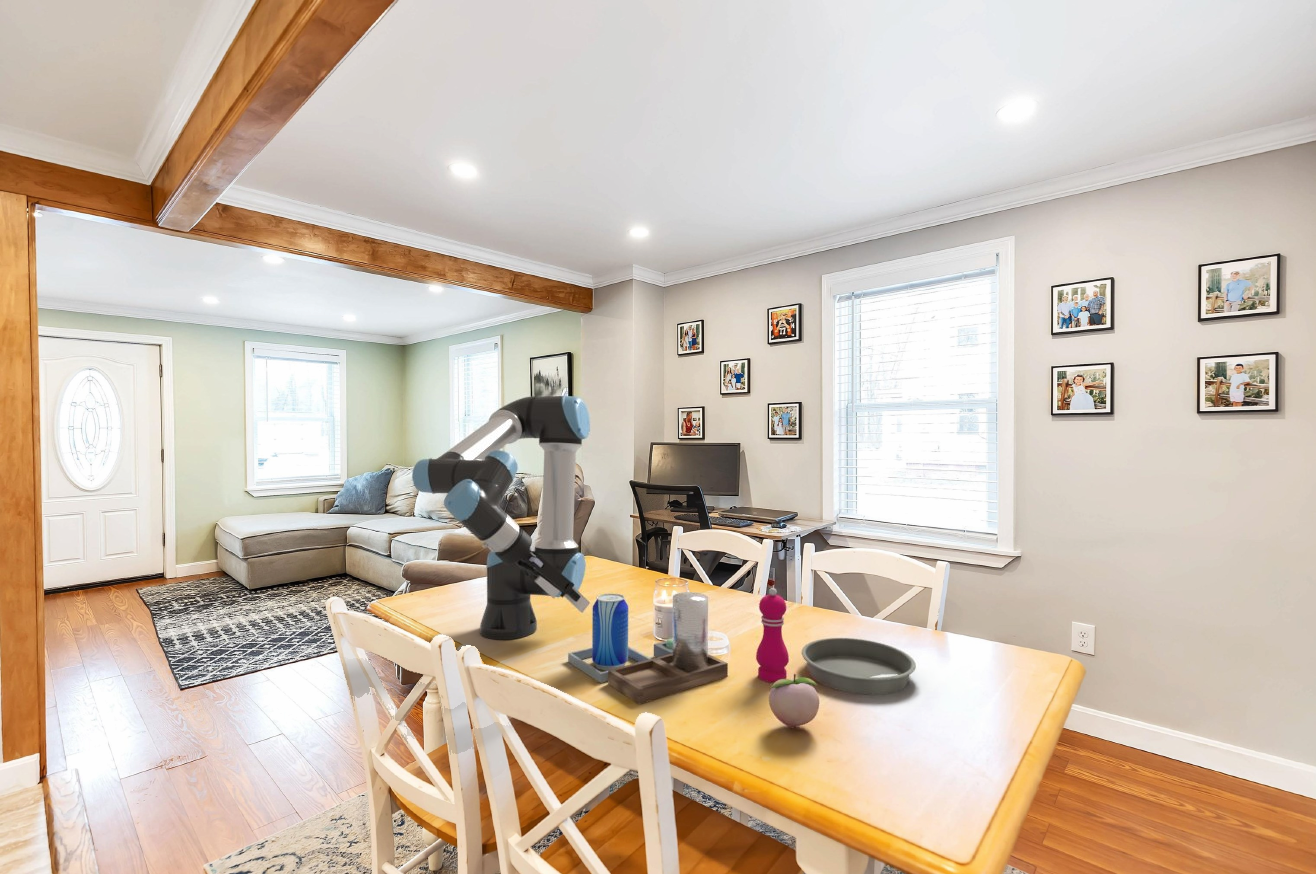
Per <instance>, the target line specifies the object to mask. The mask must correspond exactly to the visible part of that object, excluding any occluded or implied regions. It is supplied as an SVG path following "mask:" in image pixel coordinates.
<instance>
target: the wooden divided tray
mask: <svg viewBox="0 0 1316 874" xmlns="http://www.w3.org/2000/svg"><path fill="white" fill-rule="evenodd" d="M672 656H673V653H672V654H668V655H664V656H660V657H657V658H656V657H654V658H651V659H649V660H645V661H641V662H638V661H637V662H635V663H631V664H625V666H623V667H619V668H615V669H611V670H608V681H607V684H608V685H609V686H610V687H613V689H615V690H616V691H618V692H620V693H621V694H623V695H624V696H626V697H627V698H629V699H631V700H632V701H633V702H635V703H636V704H638V705H641V704H644V703H648V702H651V701H655V700H658V699H661V698H663V697H667V696H670V695H674V694H676V693H679V692H683V691H686V690H689V689H693V688H696V687H699V686H702V685H705V684H709V683H711V681H712V682H715V681H718V680H721V679H724V678H727V677H729V675H728V673H729V672H728V671H729V669H728V667H729V666H728V662H726V661H724V660H722V659H720V658H717V657H715V656H714V655H711V654H709V653H708V667H705V668H702V669H699V670H695V671H692V672H688V673H686V672H684V671H682V670H680V669H678V668H676V667H674V666H672ZM720 678H721V679H720ZM708 682H709V683H708ZM650 700H651V701H650ZM647 701H648V702H647Z"/></svg>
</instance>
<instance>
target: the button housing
mask: <svg viewBox="0 0 1316 874" xmlns="http://www.w3.org/2000/svg"><path fill="white" fill-rule="evenodd" d="M672 653H673V650H671V649H669V648H667V647H666V640H665V641H660V642H657V643H653V657H654V656H655V657H654V658H656V657H660V656H664V655H668V654H672Z"/></svg>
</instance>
